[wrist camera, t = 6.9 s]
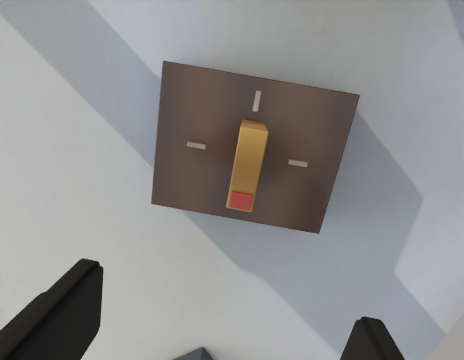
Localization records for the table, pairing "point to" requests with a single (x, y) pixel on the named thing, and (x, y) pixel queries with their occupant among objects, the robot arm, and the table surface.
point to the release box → (196, 355)
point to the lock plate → (226, 139)
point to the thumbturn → (247, 165)
